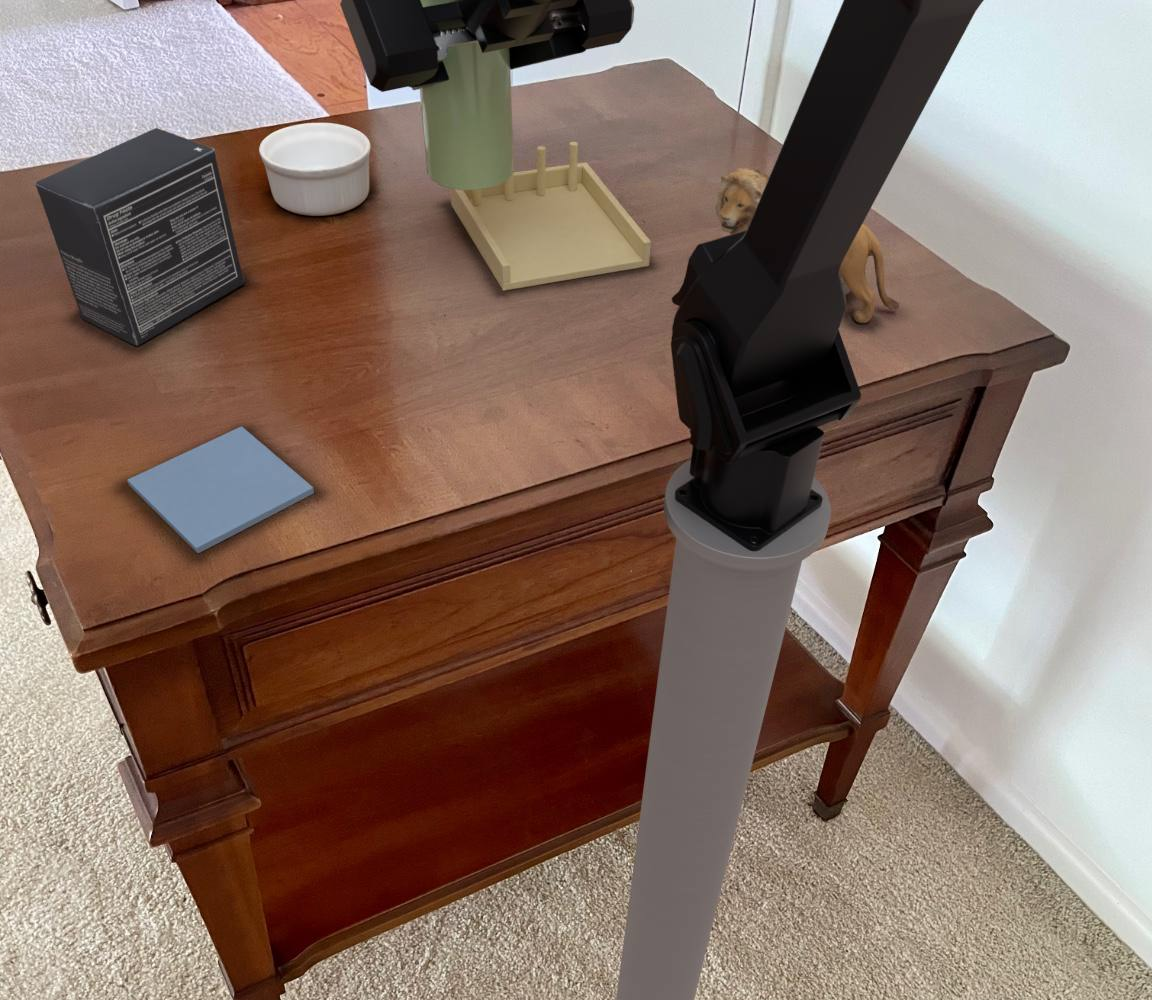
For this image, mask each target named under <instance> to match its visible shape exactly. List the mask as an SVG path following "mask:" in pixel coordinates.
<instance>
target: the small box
mask: <svg viewBox="0 0 1152 1000" xmlns="http://www.w3.org/2000/svg"><path fill="white" fill-rule="evenodd" d="M220 175H221V174H220V171H219V166H218V161H217V153H216V149H215V148H213V147H211V146H207V145H205V144H202V143H200V142H196V141H194V140H191V139H188V138H185V137H183V136H180V135H178V134H175V133H172V132H170V131H167V130H164V129H161V128H158V127H155V128H153V129H150V130H149V131H146V132H144V133H142V134H139V135H136V136H135V137H133V138H130V139H128V140H126V141H124V142H122V143H120V144H117V145H114V146H113V147H109V148H108V149H106V150H104V151H102V152H100V153H98V154H95V155H93V156H91V157H89V158H86V159H83V160H81V161H80V162H78V163H77V162H76V163H75V164H73V165H70V166H68V167H66V168H63V169H62V170H60V171H57V172H55V173H53V174H51V175H49V176H46V177H45V178H41V179H40V180H37V181H35V183H34V184H35V187H36V190H37V194H38V196H39V198H40V200H41V201H40V202H41V204H42V206H43V209H44V213H45V216H46V218H47V221H48V224H49V228H50V230H51V232H52V235H53V239H54V241H55V244H56V247H57V250H58V253H59V255H60V259H61V261H62V265H63V268H64V270H65V273H66V276H67V280H68V283H69V286H70V289H71V291H72V294H73V297H74V299H75V302H76V305H77V308H78V309H77V310H78V313H79V315H80V318H81V319H82V320H84V321H85V322H87V323H89V324H90V325H93V326H95V327H97V328H99V329H101V330H103V331H105V332H107V333H109V334H111V335H113V336H115V337H117V338H119V339H121V340H123V341H125V342H127V343H129V344H131V345H133V346H135V347H139V346H140V345H142V344H144V343H146V342H148V341H150V340H151V339H152V338H155V337H156V336H158V335H159V334H161V333H163V332H164V331H167V330H168V329H170V328H172V327H173V326H175V325H177V324H178V323H180V322H182V321H184V320H186V319H187V318H189V317H190V316H193V315H194V314H195V313H197V312H199V311H201V310H202V309H204V308H205V307H207V306H209V305H211V304H212V303H214V302H216V301H217V300H219V299H221V298H223V297H225V296H226V295H228V294H229V293H231V292H234V291H235V290H237V289H238V288H240V287H241V286H244V285H245V275H244V274H243V270H242V266H241V263H240V259H239V254H238V250H237V247H236V241H235V237H234V233H233V227H232V223H231V220H230V215H229V210H228V206H227V201H226V197H225V192H224V187H223V184H222V179H221V176H220Z"/></svg>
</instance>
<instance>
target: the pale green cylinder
mask: <svg viewBox="0 0 1152 1000" xmlns="http://www.w3.org/2000/svg"><path fill="white" fill-rule="evenodd" d="M450 2H455V0H421V3H422V6H423V7H428V6H433V5H439V4H444V3H450ZM466 29H467V28H466ZM455 31H456V30H455ZM461 31H462V29H461ZM449 32H450V33H451V31H449ZM444 34H445V32H444ZM443 63H444V65H445V68H446V71H447V73H448V76H449V80H448V81H445V82H442V83H438V84H435V85H432V86H428V87H425V88H421V89H419V100H420V111H421V119H422V131H423V133H422V134H423V142H424V153H425V154H424V155H425V164H426V173H427V176H428V178H429V179H430V180H431V181H432V182H434V183H435V184H436V185H439V186H441V187H444V188H447V189H450V190H451V189H457V190H480V189H486V188H490V187H494V186H497V185H499V184H501V183H503V182H505V181H506V180H508V179H509V178H510V177H511V176H512V174H513V172H514V171H515V163H514V161H515V160H514V138H513V137H514V134H513V133H514V130H513V129H514V128H513V103H512V75H511V74H512V72H511V71H512V70H510V48H505V49H500V50H495V51H490V52H485V53H482V50H481V48H480V45H479V42H478V43H473V44H468V45H463V46H457V47H452V48H448V53H447V56H446V57H445V59H444V60H443Z"/></svg>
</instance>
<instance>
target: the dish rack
mask: <svg viewBox="0 0 1152 1000" xmlns="http://www.w3.org/2000/svg"><path fill="white" fill-rule="evenodd" d="M568 145H569V146H568V147H569V148H568V164H563V165H556V166H549V167H546V165H547V164H546V162H547V161H546V160H547V158H546V156H547V148H546V147H545V146H543V145H539V146H537V148H536V168H535V169H528V170H521V171H515V172H514V171H513V174H512V176H511V177H510V178H509V179H508V180H506V181H505V182H503V183H501V184H499V185H497V186H494V187H490V188H486V189H480V190H457V189H451V188H450V202H451V203H450V204H451V207H452V208H453V210H454V212H455V213H456V215H457V217H458V218H459V220H460V221H461V223H462V225H463V227H464V228H465V230H466V232H467V234H468V235H469V237H470V238H471V240H472V242H473V243H474V245H475V247H476V248H477V250H478V252H479V253H480V255H481V257H482V259H483V260H484V262H485V263H486V265H487V267H488V269H489V270H490V271H491V273H492V275H493V277H494V278H495V280H496V281H497V283H498V285H499V286H500V288H501V290H502V291H510V290H516V289H521V288H528V287H534V286H540V285H545V284H552V283H557V282H563V281H570V280H574V279H575V280H576V279H581V278H586V277H594V276H599V275H605V274H611V273H616V272H623V271H628V270H633V269H640V268H646V267H649V266H650V258H651V257H650V256H651V248H652V246H651V244H652V241H651V240H650V239H649V237H648V236H647V235H646V234H645V232H644V231H643V230H642V229H641V227H640V226H639V225H638V224H637V222H636V221H635V220H634V219H633V218H632V216H631V215H630V214H629V213H628V211H627V210H626V209H625V208H624V207H623V205H622V204H621V203H620V202H619V201H618V199H617V198H616V197H615V196H614V194H613V193H612V192H611V190H610V189H609V188H608V187H607V185H606V184H605V183H604V182H603V181H602V179H601V178H600V177H599V176H598V174H597V173H596V172H595V171H594V169H593V168H592V167H591V166H590V165H589V163H587V162H578V155H579V154H578V153H579V143H578V142H577V141H570V142H569V144H568Z"/></svg>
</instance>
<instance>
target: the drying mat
mask: <svg viewBox="0 0 1152 1000" xmlns="http://www.w3.org/2000/svg"><path fill="white" fill-rule="evenodd" d="M126 481H127V484H128V486H129V487H130V488H131V489H132V490H133V491H134V492H135V493H136V494H137V495H138V496H139V497H140V498H141V499H142V500H143V501H144V502H145V503H146V504H147V505H148V506H149V507H150V508H151V509H152V510H153V511H154V512H155V513H156V514H157V515H158V516H159V517H160V519H162V520H163V521H164V522H165V523H166V524H167V525H168V526H169V527H170V528H171V529H172V530H173V531H174V532H175V533H176V534H177V535H178V536H179V537H181V539H182V540H183V541H184V542H185V543H186V544H187V545H188V546H189V547H190V548H191V549H193V551H194V552H195V553H197V554H201V553H202V552H205V551H206V550H208V549H210V548H212V547H214V546H216V545H218V544H220V543H222V542H223V541H225V540H227V539H229V538H231V537H233V536H235V535H237V534H239V533H240V532H243V531H245V530H247V529H248V528H251V527H253V526H254V525H257V524H258V523H260V522H262V521H264V520H266V519H268V518H270V517H272V516H273V515H275V514H277V513H279V512H281V511H283V510H285V509H287V508H289V507H291V506H293V505H295V504H297V503H299V502H300V501H302V500H304V499H306V498H308V497H310V496H311V495H314V494H315V490H314V486H312V484H310V483H309V482H308V481H306V480H305V479H304V478H303V477H302V476H301V475H300V474H298V473H297V472H296V471H295V470H294V469H292V468H291V467H290V466H289V465H288V464H286V463H285V462H284V461H283V460H282V459H281V458H279V457H278V456H277V455H276V454H275V453H274V452H273V451H271V450H270V449H269V448H268V447H267V446H266V445H264V444H263V443H262V442H261V441H259V439H258V438H256V437H255V436H254V435H253V434H252V433H251V432H249V431H248V430H247V429H246V428H245V427H243V426H238V427H236V428H235V429H233V430H230V431H227V432H226V433H224V434H223V435H220V436H217V437H216V438H213V439H211V440H209V441H207V442H204V443H202V444H200V445H199V446H196V447H194V448H192V449H190V450H188V451H186V452H183V453H182V454H179V455H177V456H175V457H173V458H171V459H169V460H167V461H164V462H162V463H160V464H158V465H155V466H154V467H151V468H149V469H147V470H145V471H143V472H141V473H139V474H137V475H134V476H132V477H130V478H128V479H126Z"/></svg>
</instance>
